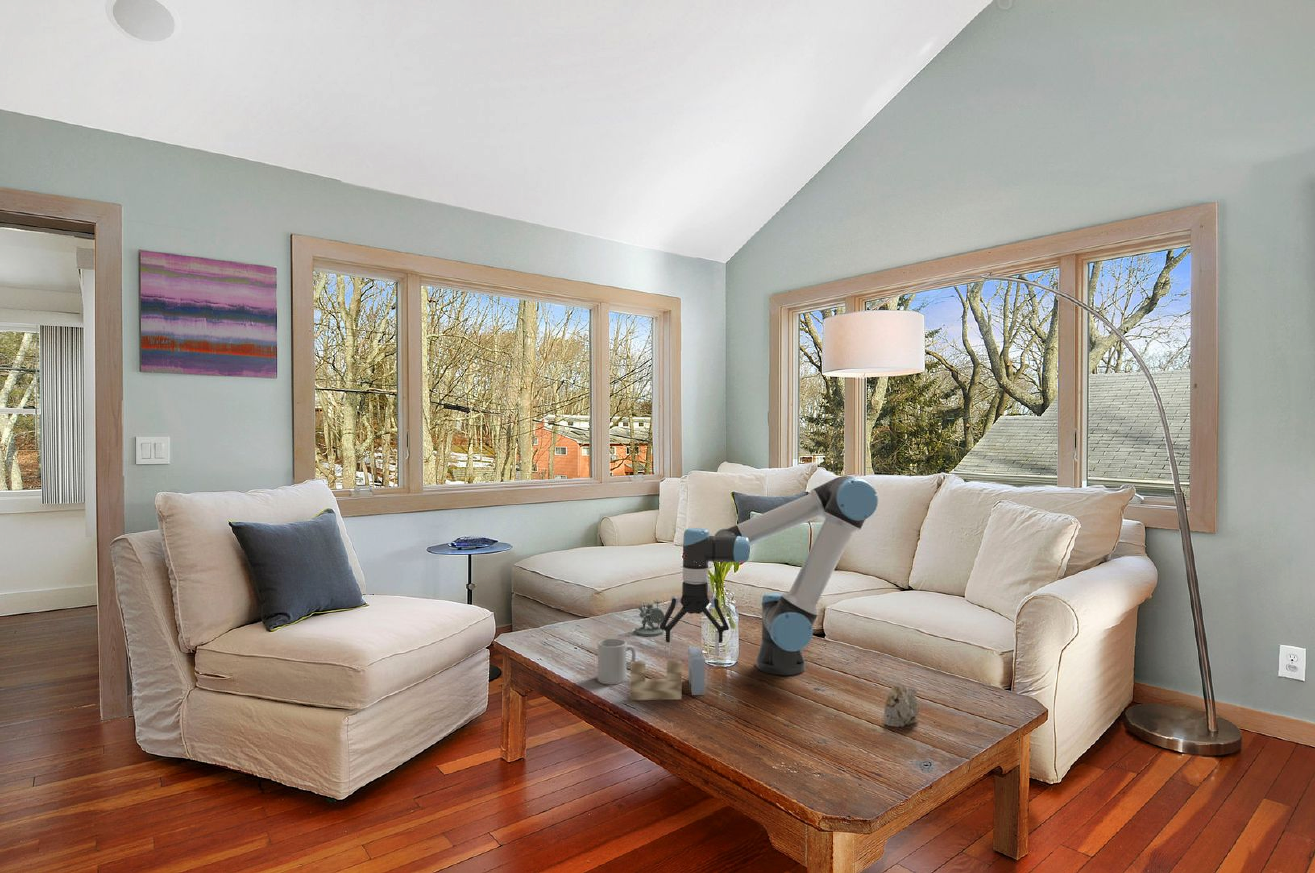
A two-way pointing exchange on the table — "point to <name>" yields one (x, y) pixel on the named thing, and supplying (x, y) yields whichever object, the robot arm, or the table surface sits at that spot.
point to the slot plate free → (696, 670)
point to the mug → (613, 660)
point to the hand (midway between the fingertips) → (693, 653)
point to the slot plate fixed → (656, 683)
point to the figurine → (650, 620)
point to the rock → (901, 707)
